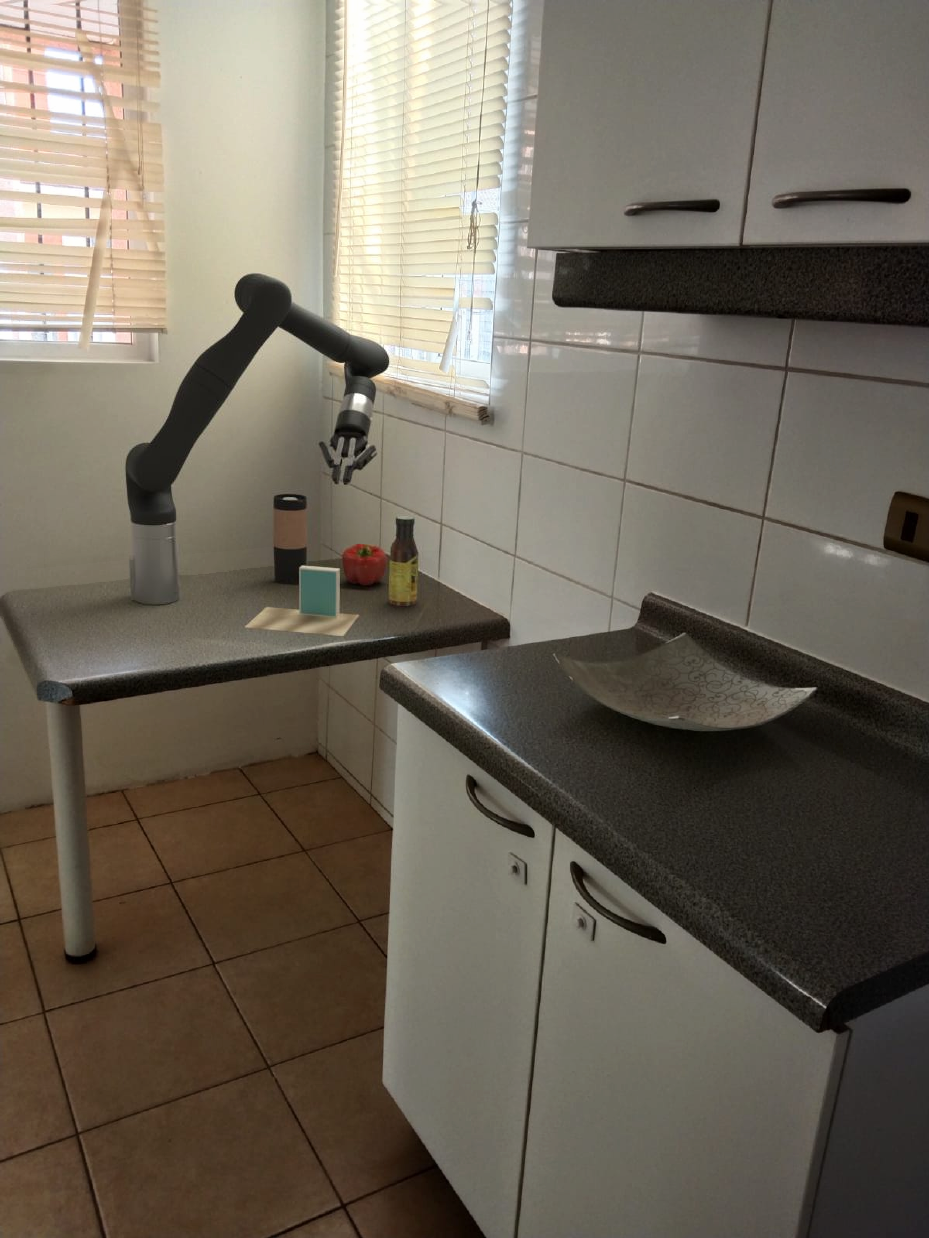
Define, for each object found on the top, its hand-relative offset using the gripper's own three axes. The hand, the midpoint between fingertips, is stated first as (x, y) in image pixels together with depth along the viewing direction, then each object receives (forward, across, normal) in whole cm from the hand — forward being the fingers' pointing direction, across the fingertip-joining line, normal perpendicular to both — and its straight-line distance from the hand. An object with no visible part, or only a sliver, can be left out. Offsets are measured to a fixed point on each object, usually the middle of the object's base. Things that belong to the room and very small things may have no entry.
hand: (340, 482), depth 217 cm
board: (+34, -2, +3) cm, 34 cm away
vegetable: (+10, +3, +27) cm, 29 cm away
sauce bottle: (+21, +15, +16) cm, 30 cm away
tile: (+30, 0, +6) cm, 30 cm away
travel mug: (+12, -14, +25) cm, 31 cm away
